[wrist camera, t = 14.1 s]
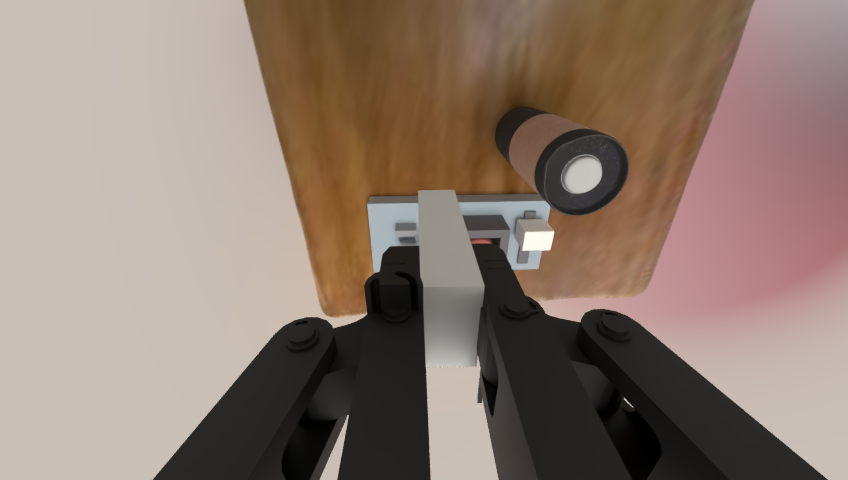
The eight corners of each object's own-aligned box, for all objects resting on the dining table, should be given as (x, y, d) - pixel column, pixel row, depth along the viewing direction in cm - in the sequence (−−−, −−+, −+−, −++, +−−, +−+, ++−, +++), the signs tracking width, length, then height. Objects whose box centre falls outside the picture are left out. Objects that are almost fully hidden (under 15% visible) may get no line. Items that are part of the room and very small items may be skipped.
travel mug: (548, 154, 47) (627, 208, 30) (496, 165, 48) (543, 225, 30) (546, 99, 44) (635, 123, 26) (490, 111, 44) (540, 144, 27)
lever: (396, 237, 48) (410, 265, 41) (415, 234, 48) (431, 262, 42) (397, 253, 49) (410, 283, 42) (415, 250, 50) (431, 280, 43)
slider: (517, 219, 48) (525, 231, 44) (544, 219, 48) (554, 231, 44) (514, 237, 49) (522, 250, 46) (540, 236, 49) (550, 250, 46)
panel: (369, 196, 50) (362, 218, 43) (544, 193, 50) (565, 214, 43) (375, 262, 55) (370, 291, 48) (532, 259, 56) (549, 287, 49)
